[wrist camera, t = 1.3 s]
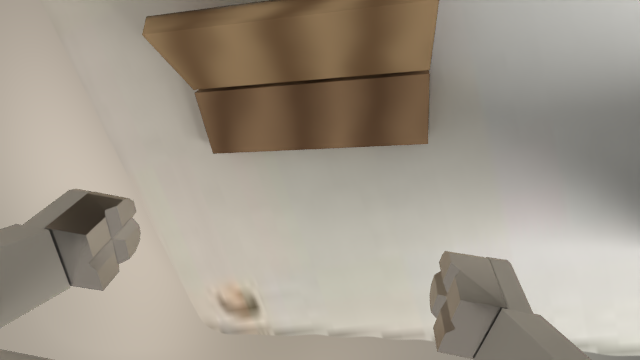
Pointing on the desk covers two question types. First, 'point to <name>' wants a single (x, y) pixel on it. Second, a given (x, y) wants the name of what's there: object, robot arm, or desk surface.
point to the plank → (295, 40)
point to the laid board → (318, 113)
